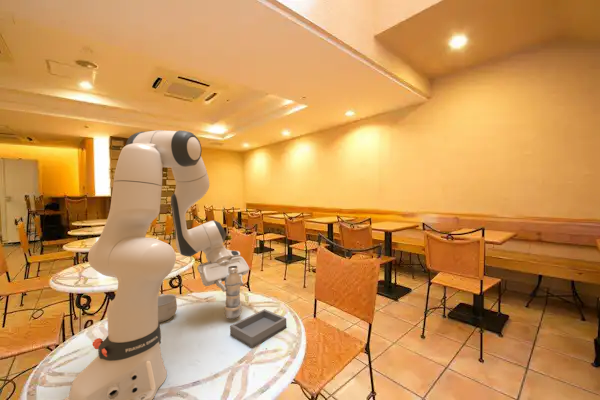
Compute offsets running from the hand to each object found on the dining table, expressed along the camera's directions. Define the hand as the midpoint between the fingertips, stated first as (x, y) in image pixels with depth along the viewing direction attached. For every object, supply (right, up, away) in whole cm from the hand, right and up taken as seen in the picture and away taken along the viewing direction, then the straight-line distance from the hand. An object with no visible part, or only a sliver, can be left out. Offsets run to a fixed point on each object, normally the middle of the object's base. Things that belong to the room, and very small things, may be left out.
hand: (233, 287), depth 100 cm
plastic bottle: (-1, -12, +1) cm, 12 cm away
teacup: (-30, -14, +4) cm, 33 cm away
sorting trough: (+11, -13, -9) cm, 19 cm away
